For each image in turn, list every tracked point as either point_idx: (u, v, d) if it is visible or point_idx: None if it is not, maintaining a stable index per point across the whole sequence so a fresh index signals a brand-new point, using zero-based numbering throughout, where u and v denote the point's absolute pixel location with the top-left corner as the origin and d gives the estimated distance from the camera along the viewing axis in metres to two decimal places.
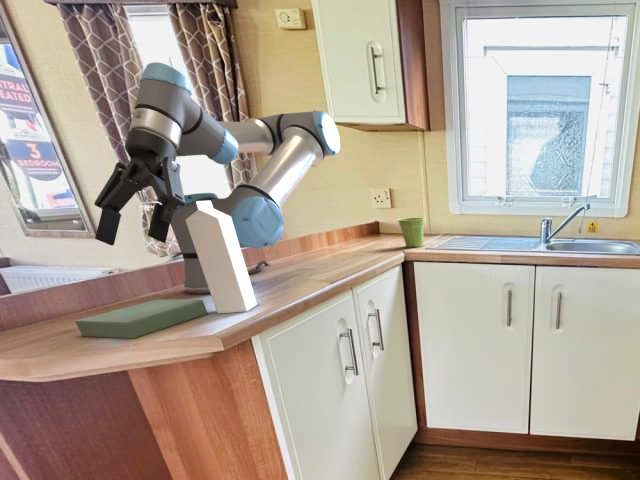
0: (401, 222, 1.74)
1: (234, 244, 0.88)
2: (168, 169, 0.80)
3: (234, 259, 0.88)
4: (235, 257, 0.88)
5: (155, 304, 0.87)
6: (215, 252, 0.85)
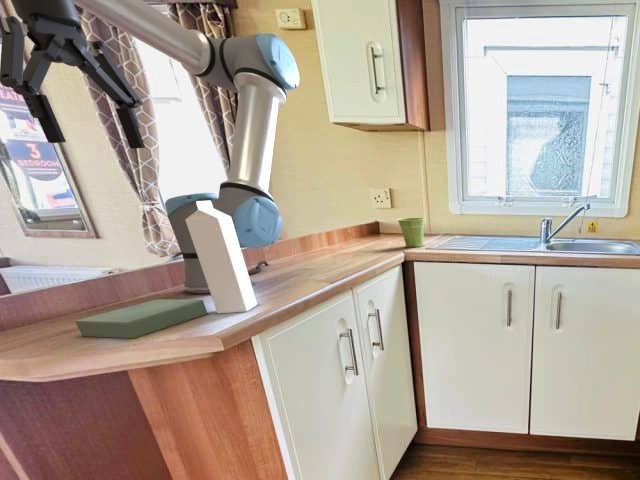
0: (401, 222, 1.74)
1: (234, 244, 0.88)
2: (3, 38, 0.63)
3: (234, 259, 0.88)
4: (235, 257, 0.88)
5: (155, 304, 0.87)
6: (215, 252, 0.85)
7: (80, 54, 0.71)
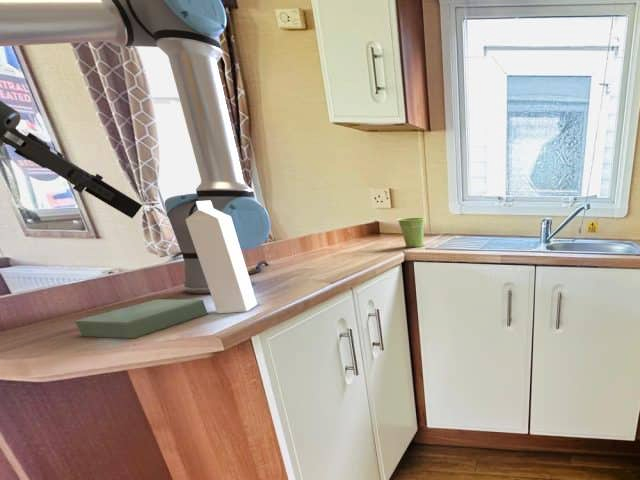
0: (401, 222, 1.74)
1: (234, 244, 0.88)
2: (24, 152, 0.64)
3: (234, 259, 0.88)
4: (235, 257, 0.88)
5: (155, 304, 0.87)
6: (215, 252, 0.85)
7: None
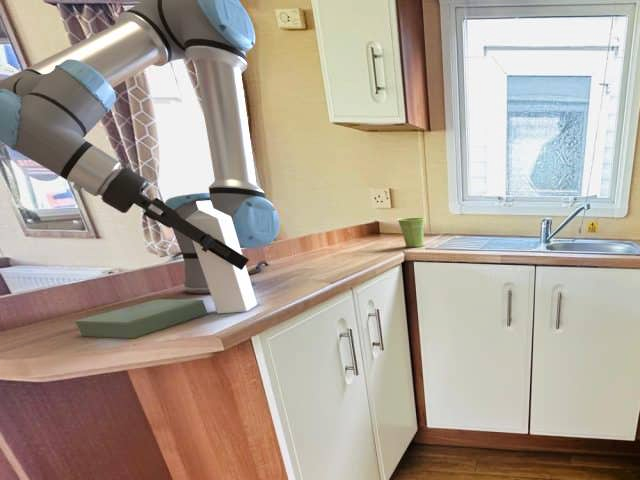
0: (401, 222, 1.74)
1: (234, 244, 0.88)
2: (164, 221, 0.76)
3: None
4: None
5: (155, 304, 0.87)
6: None
7: None
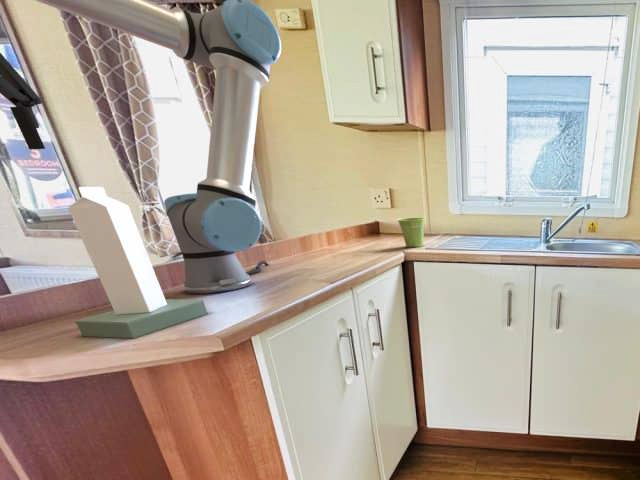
0: (401, 222, 1.74)
1: (132, 236, 0.78)
2: None
3: (132, 253, 0.78)
4: (133, 251, 0.78)
5: None
6: (106, 245, 0.75)
7: None
